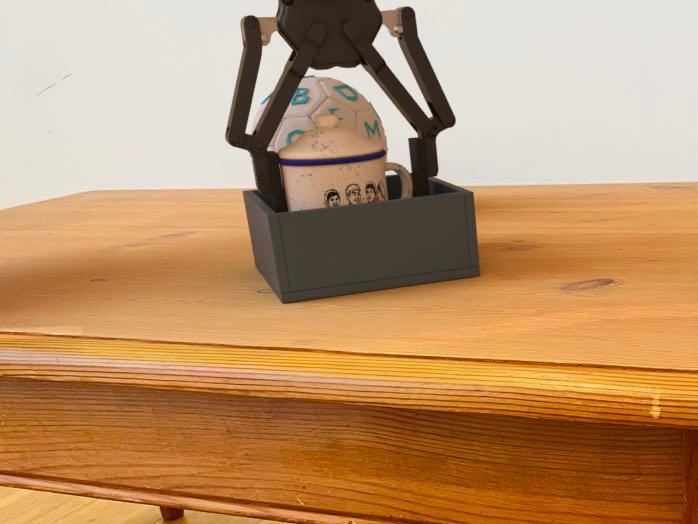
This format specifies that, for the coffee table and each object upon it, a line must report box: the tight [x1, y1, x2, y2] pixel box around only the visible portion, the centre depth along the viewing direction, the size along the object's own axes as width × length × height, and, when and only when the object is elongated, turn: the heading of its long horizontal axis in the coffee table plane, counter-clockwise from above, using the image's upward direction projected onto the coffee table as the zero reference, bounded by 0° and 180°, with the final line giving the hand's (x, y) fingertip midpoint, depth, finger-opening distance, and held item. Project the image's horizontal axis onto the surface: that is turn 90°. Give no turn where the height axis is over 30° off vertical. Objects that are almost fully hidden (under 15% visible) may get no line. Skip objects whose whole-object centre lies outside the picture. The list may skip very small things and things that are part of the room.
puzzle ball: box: [249, 74, 389, 185], centre depth 120 cm, size 15×15×15 cm
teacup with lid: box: [278, 114, 413, 212], centre depth 92 cm, size 12×9×12 cm
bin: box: [242, 172, 481, 304], centre depth 93 cm, size 17×17×7 cm
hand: (354, 225), depth 93 cm, fingers closed on teacup with lid, 12 cm apart
